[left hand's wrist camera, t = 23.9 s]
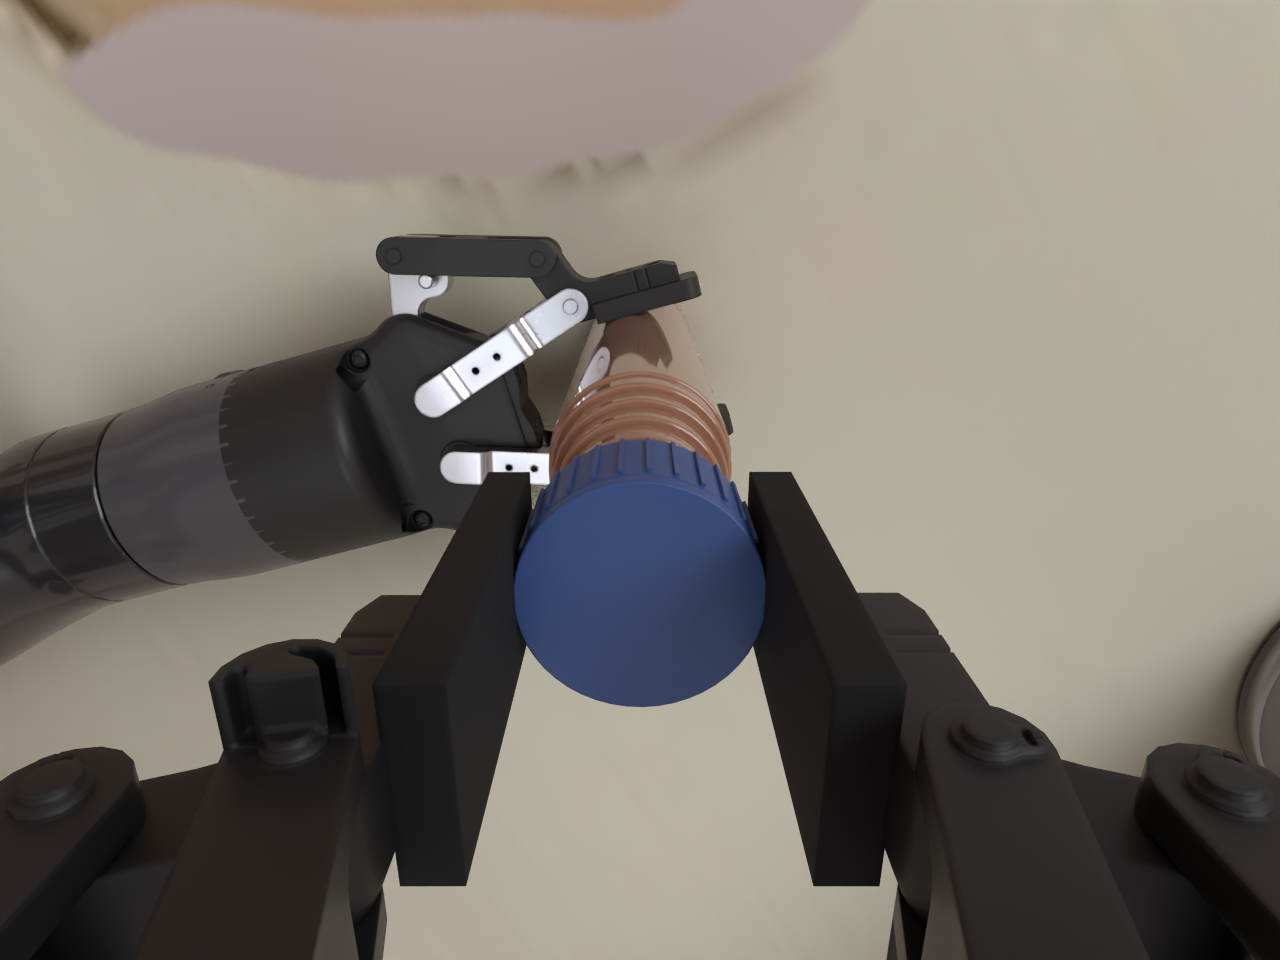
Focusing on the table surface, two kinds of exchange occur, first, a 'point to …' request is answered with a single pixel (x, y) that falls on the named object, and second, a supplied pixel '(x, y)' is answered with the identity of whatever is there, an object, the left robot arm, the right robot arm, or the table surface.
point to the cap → (639, 575)
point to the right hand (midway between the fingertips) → (711, 352)
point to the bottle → (640, 391)
